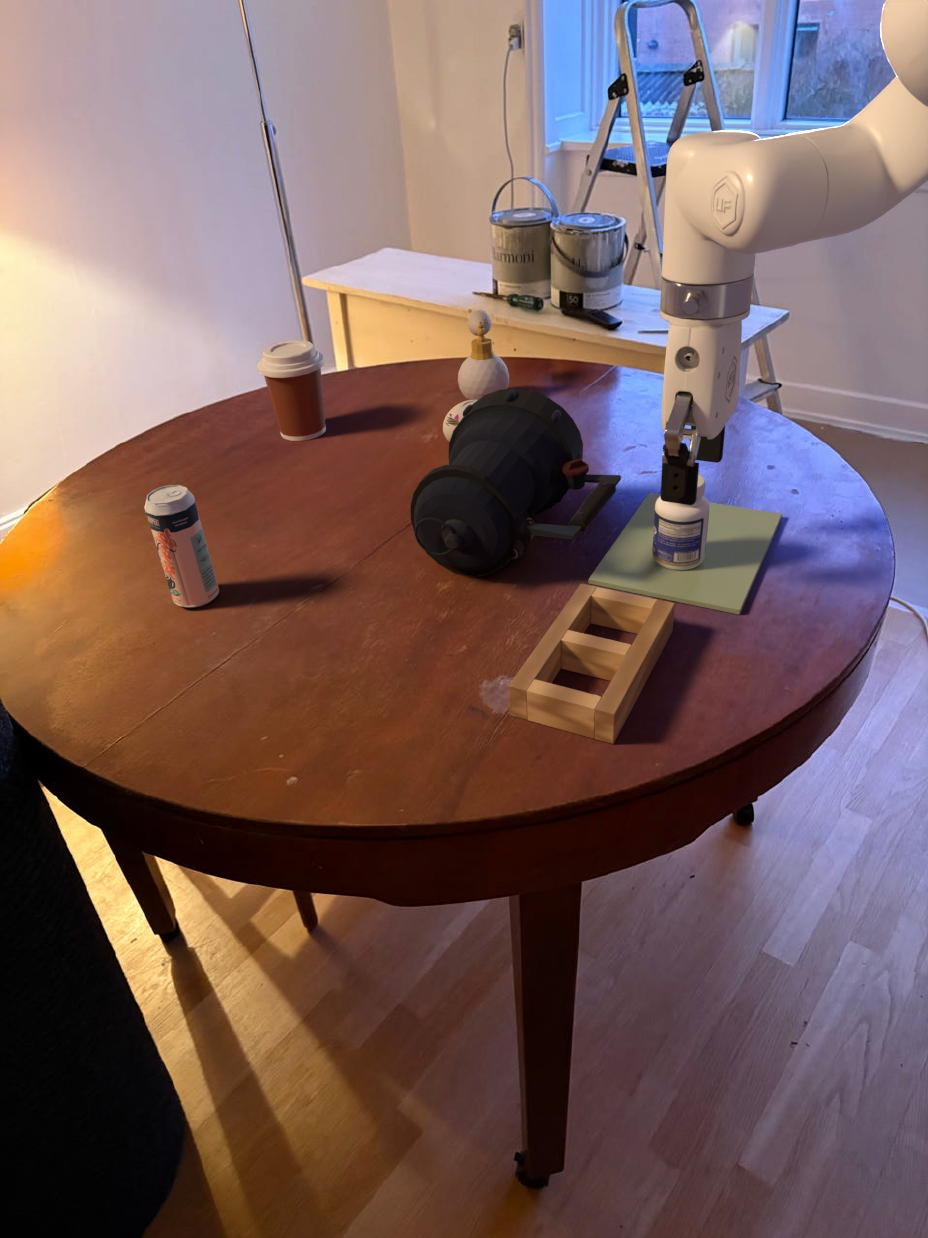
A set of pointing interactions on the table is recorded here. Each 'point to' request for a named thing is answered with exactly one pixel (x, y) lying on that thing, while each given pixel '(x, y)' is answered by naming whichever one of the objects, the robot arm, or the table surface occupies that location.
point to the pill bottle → (681, 532)
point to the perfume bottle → (481, 362)
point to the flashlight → (504, 483)
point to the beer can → (181, 545)
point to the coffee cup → (295, 388)
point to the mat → (712, 584)
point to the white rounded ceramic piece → (454, 418)
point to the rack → (592, 662)
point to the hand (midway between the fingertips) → (692, 480)
